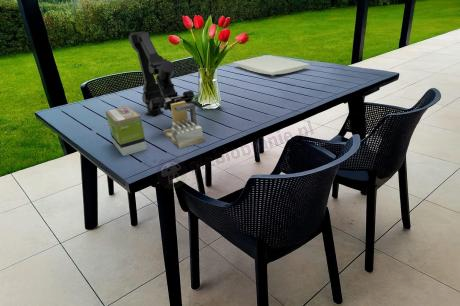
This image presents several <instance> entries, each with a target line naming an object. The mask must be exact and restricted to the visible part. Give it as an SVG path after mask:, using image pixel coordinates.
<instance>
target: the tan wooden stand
mask: <svg viewBox="0 0 460 306" xmlns="http://www.w3.org/2000/svg"><path fill="white" fill-rule="evenodd" d="M175 110H176V111H177V112H179V111H183V110H187V111H188V110H189V116H190V119H189V118H188V119H186V122H185V121H184V120H181V122H182V124H181V123H180V122H179V121H177V124H175V123H174V122H173V121H172V122H171V125H172V126H171V127H170V128H168V129H164V130H163V131H162V133H163V135H164V136H166V137H167V138H168V139H169V140H170V141H171V142H172V143H173V144H174V145H176V146H177V147H178V148H179V149H183V148H186V147H190V146H193V145H197V144H200V143H204V142H206V140H205V139H206V138H205V137H204V135H203V128H202V126H201V125H199V124H198V122H197V121H198V120H197V112H196V106H195V105H194V104H193V103H190V104H187V103H186V104H185V105H181V106H176V107H175Z"/></svg>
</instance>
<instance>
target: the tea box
mask: <svg viewBox="0 0 460 306" xmlns="http://www.w3.org/2000/svg"><path fill="white" fill-rule="evenodd" d="M105 116H106V119H107V124H108V128H109V133H110V136H111V141H112V143H113V145H114V146H115V148H116V149H117V151H119V152H120V154H121V155H122V156H123V157H125V156H129V155H132V154H135V153H139V152H142V151H143V152H144V151H145V150H147V149H148V148H147V143H146V142H147V141H146V137H145V132H144V127H143V122H142V118H141V115H140V114H139V113H138V112H136V111H135V110H134V109H133V108H132V107H131V106H130V105H126V106H122V107H118V108H115V109H110V110H105Z"/></svg>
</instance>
